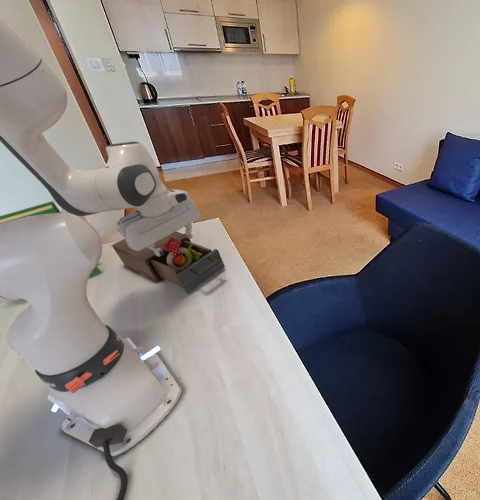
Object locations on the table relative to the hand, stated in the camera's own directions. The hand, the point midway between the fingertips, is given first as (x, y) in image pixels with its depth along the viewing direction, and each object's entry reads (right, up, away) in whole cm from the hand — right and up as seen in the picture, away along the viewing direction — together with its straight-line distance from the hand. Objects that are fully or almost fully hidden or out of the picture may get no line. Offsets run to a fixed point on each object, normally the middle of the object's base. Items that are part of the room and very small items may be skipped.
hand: (175, 246), depth 89 cm
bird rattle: (+2, -5, +6) cm, 8 cm away
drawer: (+3, -8, +5) cm, 10 cm away
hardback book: (-40, -11, +9) cm, 43 cm away
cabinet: (-13, -5, +14) cm, 19 cm away
